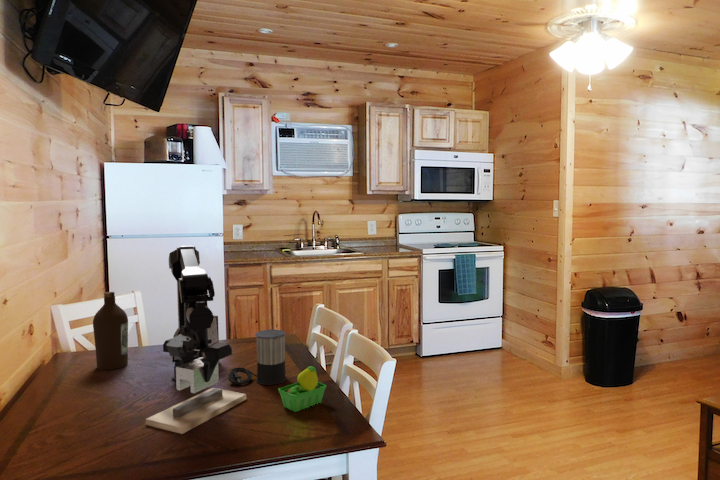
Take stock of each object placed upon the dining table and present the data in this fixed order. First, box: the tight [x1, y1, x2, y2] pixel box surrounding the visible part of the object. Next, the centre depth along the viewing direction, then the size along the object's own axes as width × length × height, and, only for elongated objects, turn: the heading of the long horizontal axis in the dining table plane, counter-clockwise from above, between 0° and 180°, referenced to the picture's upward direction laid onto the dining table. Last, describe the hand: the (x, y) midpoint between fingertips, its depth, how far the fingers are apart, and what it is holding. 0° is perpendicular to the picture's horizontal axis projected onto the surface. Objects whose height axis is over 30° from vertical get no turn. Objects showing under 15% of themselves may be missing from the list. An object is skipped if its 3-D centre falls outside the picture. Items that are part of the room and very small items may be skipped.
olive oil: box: [92, 291, 129, 371], centre depth 176 cm, size 11×11×25 cm
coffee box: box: [202, 315, 220, 364], centre depth 178 cm, size 9×6×16 cm
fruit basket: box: [277, 365, 327, 413], centre depth 140 cm, size 11×9×11 cm
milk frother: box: [227, 329, 287, 386], centre depth 160 cm, size 14×16×15 cm
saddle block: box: [175, 357, 220, 394], centre depth 137 cm, size 9×6×6 cm, turn 154°
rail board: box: [145, 387, 247, 435], centre depth 137 cm, size 24×12×4 cm, turn 154°
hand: (198, 380), depth 137 cm, fingers closed on saddle block, 6 cm apart
